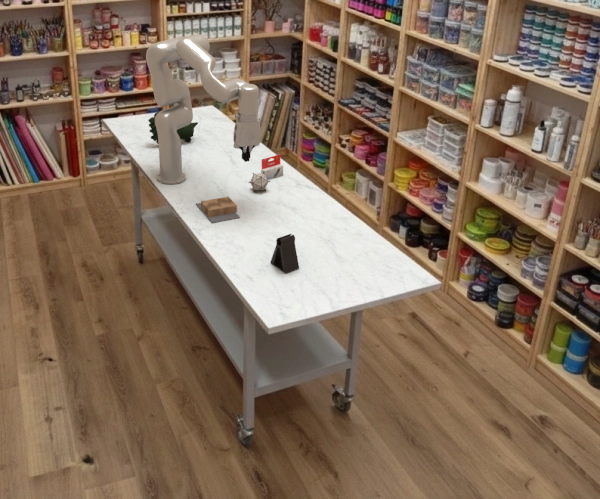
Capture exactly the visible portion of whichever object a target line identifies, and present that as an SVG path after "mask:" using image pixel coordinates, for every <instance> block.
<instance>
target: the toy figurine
mask: <svg viewBox="0 0 600 499" xmlns="http://www.w3.org/2000/svg"><path fill="white" fill-rule="evenodd" d="M160 111H161V110H160ZM160 111H157V112H155V113H154V114H153V117H150V118H149V119H147V121H148V127H149V128H150V129H149V132H150V133H151V134H152V135H150V139H151V140H153V142H156V143H157V144H158V145H159V143H158V134H157V129H156V125H155V117H156V115H157V114H158V113H159V112H160ZM198 124H199V122H191V123H190V124H189V125H187V126H185V127H183V128H180V129H178V130H177V134H178V135H179V137H180V139H181V141H184V142H185V143H190V142H191V141H192V137H194V132H195V127H197V125H198Z"/></svg>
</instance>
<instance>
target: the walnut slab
mask: <svg viewBox="0 0 600 499" xmlns="http://www.w3.org/2000/svg"><path fill="white" fill-rule="evenodd" d="M200 203H201V208H202V209H203V211H204V212H205V213H206V214H207V215H208V216H209V217H214V216H219V215H224V214H230V213H235V212H236V213H238V205H237V204H236V203H235V202H234V200H232V198H230V196H224V197H219V198H212V199H206V200H201V201H200Z"/></svg>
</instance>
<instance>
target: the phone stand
mask: <svg viewBox="0 0 600 499" xmlns="http://www.w3.org/2000/svg"><path fill="white" fill-rule="evenodd" d="M275 240H276V242H275V243H276V244H275V247H274V251H273V254H272V257H271V259H270V264H271V265H272V266H274V267H275V268H276V269H278V270H280V271H281V272H282V273H284V274H288V273H291V272H294V271H296V270H298V269H300V265H299V261H298V260H299V259H298V254H297V248H296V244H295V243H296V237H295V235H294V234H292V233H289V234H286V235H283V236H280V237H278V238H276V239H275Z"/></svg>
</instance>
